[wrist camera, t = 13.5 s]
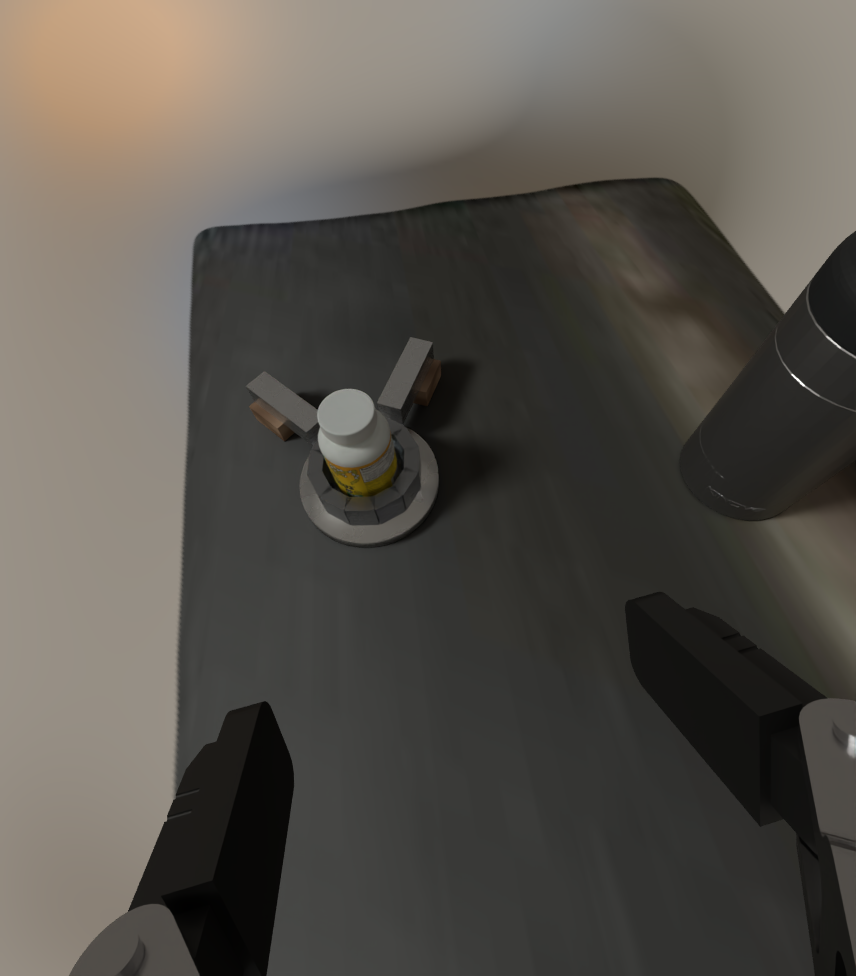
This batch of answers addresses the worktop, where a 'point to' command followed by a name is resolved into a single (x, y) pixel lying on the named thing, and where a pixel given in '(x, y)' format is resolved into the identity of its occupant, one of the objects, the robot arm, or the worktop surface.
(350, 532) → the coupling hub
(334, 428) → the supplement bottle
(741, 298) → the worktop surface
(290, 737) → the worktop surface
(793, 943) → the worktop surface
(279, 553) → the worktop surface
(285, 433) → the blocks
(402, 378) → the angled shafts
